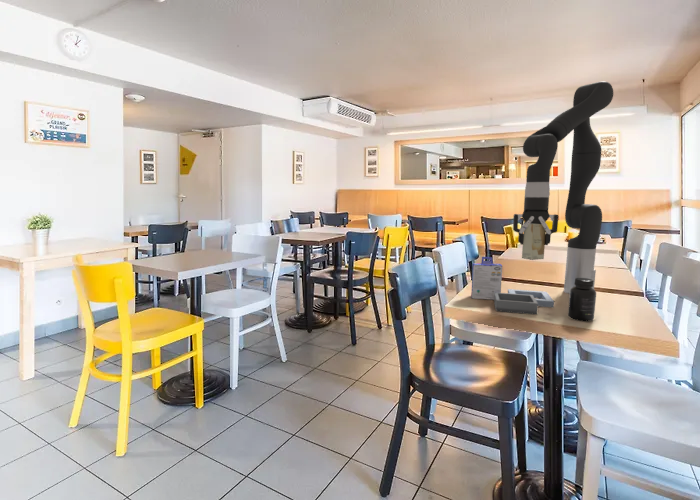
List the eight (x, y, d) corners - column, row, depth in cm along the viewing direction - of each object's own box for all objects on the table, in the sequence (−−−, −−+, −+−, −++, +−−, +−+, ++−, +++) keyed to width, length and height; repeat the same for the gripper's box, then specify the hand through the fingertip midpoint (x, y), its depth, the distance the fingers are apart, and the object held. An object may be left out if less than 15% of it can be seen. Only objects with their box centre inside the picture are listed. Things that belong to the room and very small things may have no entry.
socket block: (546, 297, 148) (546, 291, 148) (553, 307, 134) (554, 301, 134) (507, 294, 151) (507, 289, 151) (511, 304, 138) (511, 298, 138)
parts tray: (531, 305, 137) (532, 295, 136) (537, 314, 126) (538, 303, 126) (493, 302, 140) (494, 292, 140) (495, 311, 130) (496, 300, 129)
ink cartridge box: (498, 296, 148) (501, 257, 146) (501, 300, 142) (503, 259, 140) (470, 295, 150) (472, 255, 148) (471, 298, 144) (473, 258, 142)
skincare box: (531, 260, 138) (534, 224, 136) (521, 258, 141) (523, 223, 140) (544, 259, 140) (547, 223, 139) (533, 257, 144) (536, 222, 143)
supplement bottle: (562, 315, 126) (566, 276, 124) (584, 314, 127) (587, 276, 125) (577, 322, 119) (580, 281, 118) (599, 321, 120) (603, 281, 118)
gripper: (558, 195, 139) (554, 244, 142) (512, 195, 143) (510, 242, 146) (562, 196, 132) (559, 247, 135) (515, 196, 136) (512, 245, 139)
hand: (533, 244), depth 140 cm, fingers closed on skincare box, 7 cm apart
